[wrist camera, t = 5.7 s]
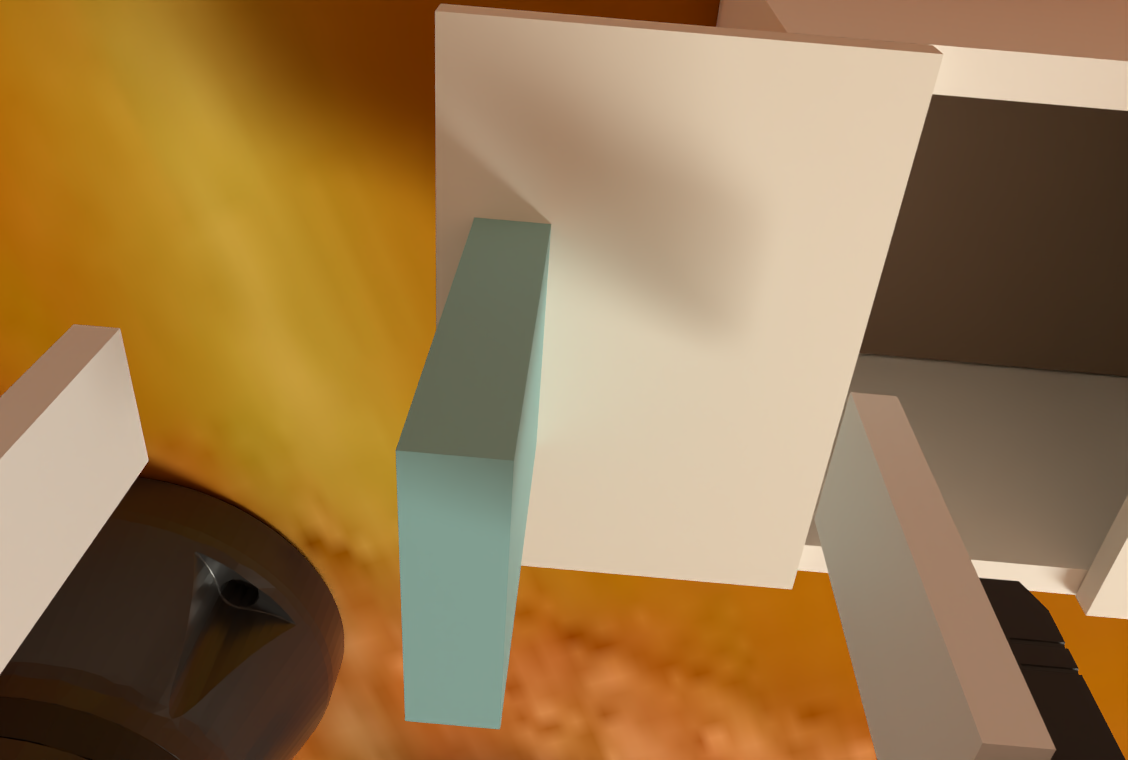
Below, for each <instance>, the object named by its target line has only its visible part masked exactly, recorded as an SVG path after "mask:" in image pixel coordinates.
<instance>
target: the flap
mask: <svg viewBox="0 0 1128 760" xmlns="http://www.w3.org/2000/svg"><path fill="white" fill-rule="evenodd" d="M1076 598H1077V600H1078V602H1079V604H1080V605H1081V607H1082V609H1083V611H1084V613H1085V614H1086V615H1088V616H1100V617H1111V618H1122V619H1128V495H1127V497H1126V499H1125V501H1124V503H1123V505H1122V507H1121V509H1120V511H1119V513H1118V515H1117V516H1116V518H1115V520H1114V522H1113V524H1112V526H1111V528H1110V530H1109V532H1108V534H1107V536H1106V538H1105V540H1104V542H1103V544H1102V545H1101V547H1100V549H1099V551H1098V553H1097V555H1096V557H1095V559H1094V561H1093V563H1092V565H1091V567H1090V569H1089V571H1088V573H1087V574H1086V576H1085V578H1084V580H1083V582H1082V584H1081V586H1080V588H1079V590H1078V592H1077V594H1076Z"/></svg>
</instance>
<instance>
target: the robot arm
mask: <svg viewBox="0 0 1128 760" xmlns="http://www.w3.org/2000/svg"><path fill="white" fill-rule="evenodd" d="M148 461H149V460H148V455H147V451H146V446H145V441H144V437H143V432H142V427H141V423H140V418H139V414H138V409H137V404H136V400H135V395H134V391H133V386H132V381H131V377H130V372H129V368H128V363H127V358H126V354H125V349H124V345H123V340H122V335H121V331H120V328H110V327H98V326H87V325H75V324H74V325H73V326H72V327H71V328H70V329H69V330H68V331H67V332H66V333H65V334H64V335H63V336H62V337H61V338H60V339H59V340H58V341H57V342H56V343H55V344H53V345H52V346H51V347H50V348H49V349H48V350H47V351H46V352H45V353H44V354H43V355H42V356H41V357H40V358H39V359H38V360H37V361H36V362H35V363H34V364H33V365H32V366H31V367H30V368H29V369H28V370H27V371H26V372H25V373H24V374H23V375H22V376H21V377H20V378H19V379H18V380H17V381H16V382H15V383H14V384H13V385H12V386H11V387H10V388H9V389H8V390H7V391H6V392H5V393H4V394H3V395H2V396H1V397H0V760H292V759H293V758H294V757H295V755H296V754H297V753H298V751H299V750H300V749H301V747H302V746H303V745H304V744H305V742H306V741H307V740H308V738H309V737H310V735H311V734H312V733H313V732H314V730H315V729H316V727H317V726H318V724H319V722H320V721H321V719H322V717H323V715H324V713H325V711H326V709H327V706H328V704H329V701H330V697H331V694H332V691H333V688H334V685H335V682H336V679H337V676H338V672H339V669H340V666H341V663H342V659H343V653H344V632H343V625H342V621H341V617H340V614H339V611H338V608H337V605H336V603H335V601H334V599H333V596H332V595H331V593H330V591H329V589H328V587H327V586H326V584H325V583H324V581H323V580H322V578H321V577H320V575H319V574H318V573H317V571H316V570H315V569H314V568H313V566H312V565H311V564H310V563H309V562H308V561H307V560H306V559H305V557H304V556H303V555H302V554H301V553H300V552H299V551H298V550H297V549H295V548H294V547H293V546H292V545H291V544H290V543H289V542H288V541H286V540H285V539H284V538H283V537H282V536H280V535H279V534H278V533H276V532H275V531H274V530H272V529H271V528H269V527H268V526H266V525H265V524H264V523H262V522H261V521H259V520H257V519H256V518H254V517H252V516H251V515H249V514H247V513H245V512H244V511H242V510H240V509H238V508H236V507H234V506H232V505H230V504H228V503H226V502H223V501H221V500H219V499H217V498H214V497H212V496H209V495H207V494H204V493H201V492H198V491H195V490H192V489H189V488H186V487H182V486H179V485H175V484H171V483H167V482H162V481H158V480H152V479H146V478H139V477H138V475H139V474H140V473H141V471H142V470H143V468H144V467H145V465H146V464H147V462H148ZM814 520H815V524H816V527H817V531H818V535H819V539H820V543H821V547H822V550H823V554H824V558H825V562H826V566H827V569H828V573H829V577H830V581H831V585H832V589H833V592H834V596H835V600H836V604H837V608H838V611H839V615H840V619H841V623H842V627H843V630H844V634H845V638H846V642H847V646H848V650H849V653H850V657H851V661H852V665H853V669H854V672H855V676H856V680H857V684H858V688H859V692H860V695H861V699H862V703H863V707H864V711H865V714H866V718H867V722H868V726H869V730H870V734H871V737H872V741H873V745H874V749H875V753H876V756H877V760H1125V758H1124V756H1123V754H1122V752H1121V750H1120V748H1119V746H1118V744H1117V743H1116V741H1115V739H1114V737H1113V735H1112V733H1111V731H1110V729H1109V727H1108V725H1107V723H1106V721H1105V719H1104V717H1103V715H1102V713H1101V711H1100V710H1099V708H1098V706H1097V704H1096V702H1095V700H1094V698H1093V696H1092V694H1091V692H1090V690H1089V688H1088V686H1087V684H1086V682H1085V680H1084V679H1083V677H1082V675H1079V674H1078V667H1077V665H1076V663H1075V661H1074V659H1073V657H1072V655H1071V653H1070V651H1069V649H1065V647H1064V644H1065V642H1064V640H1063V638H1062V636H1061V634H1060V632H1059V630H1058V628H1057V626H1056V624H1055V622H1054V620H1053V618H1052V616H1051V615H1050V613H1049V611H1048V610H1047V609H1046V608H1045V607H1044V606H1043V605H1042V604H1041V603H1040V602H1039V601H1038V600H1037V599H1036V598H1035V597H1034V596H1033V595H1032V594H1031V593H1030V592H1029V591H1028V590H1027V589H1026V588H1025V587H1024V586H1023V585H1022V584H1021V583H1020V582H1019V581H1011V580H1000V579H988V578H979V577H978V575H977V572H976V570H975V568H974V566H973V564H972V561H971V559H970V557H969V555H968V552H967V550H966V548H965V546H964V544H963V541H962V539H961V537H960V535H959V532H958V530H957V528H956V526H955V524H954V521H953V519H952V517H951V515H950V512H949V510H948V508H947V506H946V504H945V501H944V499H943V497H942V495H941V492H940V490H939V488H938V486H937V483H936V481H935V479H934V477H933V475H932V472H931V470H930V468H929V466H928V463H927V461H926V459H925V457H924V455H923V452H922V450H921V448H920V446H919V443H918V441H917V439H916V437H915V435H914V432H913V430H912V428H911V426H910V423H909V421H908V419H907V417H906V414H905V412H904V410H903V408H902V406H901V403H900V401H899V399H898V397H897V396H890V395H878V394H867V393H856V392H851V393H850V396H849V400H848V403H847V407H846V410H845V414H844V417H843V421H842V424H841V428H840V431H839V435H838V438H837V442H836V445H835V449H834V452H833V456H832V459H831V463H830V466H829V470H828V473H827V477H826V480H825V484H824V487H823V491H822V494H821V498H820V501H819V505H818V508H817V512H816V515H815V519H814Z"/></svg>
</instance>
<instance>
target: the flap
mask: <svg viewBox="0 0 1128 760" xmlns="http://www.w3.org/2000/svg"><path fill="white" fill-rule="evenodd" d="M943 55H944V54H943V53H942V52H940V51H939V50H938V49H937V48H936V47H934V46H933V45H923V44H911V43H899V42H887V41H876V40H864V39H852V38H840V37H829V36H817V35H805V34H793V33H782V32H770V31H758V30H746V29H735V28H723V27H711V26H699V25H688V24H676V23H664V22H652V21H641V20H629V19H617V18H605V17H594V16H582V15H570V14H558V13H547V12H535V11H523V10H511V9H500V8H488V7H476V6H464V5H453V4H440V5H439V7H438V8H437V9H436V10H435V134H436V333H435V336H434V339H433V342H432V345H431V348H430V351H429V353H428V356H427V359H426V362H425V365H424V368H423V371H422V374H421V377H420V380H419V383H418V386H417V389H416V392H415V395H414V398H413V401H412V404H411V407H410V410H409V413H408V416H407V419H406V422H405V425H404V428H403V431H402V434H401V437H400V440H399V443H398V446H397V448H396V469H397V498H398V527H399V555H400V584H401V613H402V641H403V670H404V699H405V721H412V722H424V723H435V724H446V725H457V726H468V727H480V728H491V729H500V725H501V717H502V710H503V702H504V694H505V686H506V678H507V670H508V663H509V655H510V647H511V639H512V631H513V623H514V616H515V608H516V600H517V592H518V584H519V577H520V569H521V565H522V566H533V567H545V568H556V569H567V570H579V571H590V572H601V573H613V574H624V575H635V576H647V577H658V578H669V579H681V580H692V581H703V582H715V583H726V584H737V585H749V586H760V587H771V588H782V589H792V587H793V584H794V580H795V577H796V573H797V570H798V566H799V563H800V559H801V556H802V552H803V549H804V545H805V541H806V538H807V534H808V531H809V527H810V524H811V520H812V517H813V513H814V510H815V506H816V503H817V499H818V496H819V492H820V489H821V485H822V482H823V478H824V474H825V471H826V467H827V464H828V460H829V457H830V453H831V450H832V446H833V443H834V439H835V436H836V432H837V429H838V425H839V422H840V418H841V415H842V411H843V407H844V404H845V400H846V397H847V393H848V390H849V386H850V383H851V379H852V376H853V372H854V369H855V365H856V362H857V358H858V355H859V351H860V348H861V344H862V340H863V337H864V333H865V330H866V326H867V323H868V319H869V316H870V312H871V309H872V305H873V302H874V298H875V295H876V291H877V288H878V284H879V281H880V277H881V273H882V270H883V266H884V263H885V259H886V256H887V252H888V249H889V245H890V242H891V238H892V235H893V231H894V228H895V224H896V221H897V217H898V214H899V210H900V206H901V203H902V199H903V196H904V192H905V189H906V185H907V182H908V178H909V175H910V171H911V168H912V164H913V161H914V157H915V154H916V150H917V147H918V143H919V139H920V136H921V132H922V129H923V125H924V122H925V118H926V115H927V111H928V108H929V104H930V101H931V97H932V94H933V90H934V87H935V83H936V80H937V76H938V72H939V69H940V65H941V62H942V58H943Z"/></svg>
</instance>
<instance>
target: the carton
mask: <svg viewBox="0 0 1128 760" xmlns="http://www.w3.org/2000/svg"><path fill="white" fill-rule="evenodd" d="M716 27H723V28H735V29H746V30H758V31H770V32H782V33H793V34H805V35H817V36H829V37H840V38H852V39H864V40H876V41H887V42H899V43H911V44H923V45H933V46H934V47H936V48H937V49H938V50H939V51H940V52H942V53H943V54H944V55H943V58H942V62H941V65H940V69H939V72H938V76H937V80H936V83H935V87H934V90H933V94H932V97H931V101H930V104H929V108H928V111H927V115H926V118H925V122H924V125H923V129H922V132H921V136H920V139H919V143H918V147H917V150H916V154H915V157H914V161H913V164H912V168H911V171H910V175H909V178H908V182H907V185H906V189H905V192H904V196H903V199H902V203H901V206H900V210H899V214H898V217H897V221H896V224H895V228H894V231H893V235H892V238H891V242H890V245H889V249H888V252H887V256H886V259H885V263H884V266H883V270H882V273H881V277H880V281H879V284H878V288H877V291H876V295H875V298H874V302H873V305H872V309H871V312H870V316H869V319H868V323H867V326H866V330H865V333H864V337H863V340H862V344H861V348H860V351H859V355H858V358H857V362H856V365H855V369H854V372H853V376H852V379H851V383H850V386H849V390H848V393H847V397H846V400H845V404H844V407H843V411H842V415H841V418H840V422H839V425H838V429H837V432H836V436H835V439H834V443H833V446H832V450H831V453H830V457H829V460H828V464H827V467H826V471H825V474H824V478H823V482H822V485H821V489H820V492H819V496H818V499H817V503H816V506H815V510H814V513H813V517H812V520H811V524H810V527H809V531H808V534H807V538H806V541H805V545H804V549H803V552H802V556H801V559H800V563H799V566H798V570H802V571H813V572H824V573H828V569H827V566H826V562H825V558H824V554H823V550H822V547H821V543H820V539H819V535H818V531H817V527H816V524H815V520H814V519H815V515H816V512H817V508H818V505H819V501H820V498H821V494H822V491H823V487H824V484H825V480H826V477H827V473H828V470H829V466H830V463H831V459H832V456H833V452H834V449H835V445H836V442H837V438H838V435H839V431H840V428H841V424H842V421H843V417H844V414H845V410H846V407H847V403H848V400H849V396H850V393H851V392H856V393H867V394H878V395H890V396H897V397H898V399H899V401H900V403H901V406H902V408H903V410H904V412H905V414H906V417H907V419H908V421H909V423H910V426H911V428H912V430H913V432H914V435H915V437H916V439H917V441H918V443H919V446H920V448H921V450H922V452H923V455H924V457H925V459H926V461H927V463H928V466H929V468H930V470H931V472H932V475H933V477H934V479H935V481H936V483H937V486H938V488H939V490H940V492H941V495H942V497H943V499H944V501H945V504H946V506H947V508H948V510H949V512H950V515H951V517H952V519H953V521H954V524H955V526H956V528H957V530H958V532H959V535H960V537H961V539H962V541H963V544H964V546H965V548H966V550H967V552H968V555H969V557H970V559H971V561H972V564H973V566H974V568H975V570H976V572H977V575H978V577H979V578H988V579H1000V580H1011V581H1019V582H1020V583H1021V584H1022V585H1023V586H1024V587H1025V588H1026V589H1027V590H1028V591H1040V592H1051V593H1062V594H1074V595H1076V594H1077V592H1078V590H1079V588H1080V586H1081V584H1082V582H1083V580H1084V578H1085V576H1086V574H1087V573H1088V571H1089V569H1090V567H1091V565H1092V563H1093V561H1094V559H1095V557H1096V555H1097V553H1098V551H1099V549H1100V547H1101V545H1102V544H1103V542H1104V540H1105V538H1106V536H1107V534H1108V532H1109V530H1110V528H1111V526H1112V524H1113V522H1114V520H1115V518H1116V516H1117V515H1118V513H1119V511H1120V509H1121V507H1122V505H1123V503H1124V501H1125V499H1126V497H1127V495H1128V0H720V5H719V11H718V18H717V25H716Z"/></svg>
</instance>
